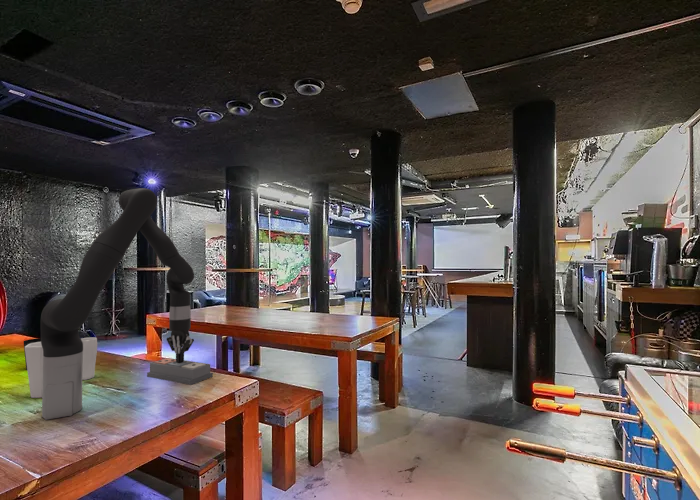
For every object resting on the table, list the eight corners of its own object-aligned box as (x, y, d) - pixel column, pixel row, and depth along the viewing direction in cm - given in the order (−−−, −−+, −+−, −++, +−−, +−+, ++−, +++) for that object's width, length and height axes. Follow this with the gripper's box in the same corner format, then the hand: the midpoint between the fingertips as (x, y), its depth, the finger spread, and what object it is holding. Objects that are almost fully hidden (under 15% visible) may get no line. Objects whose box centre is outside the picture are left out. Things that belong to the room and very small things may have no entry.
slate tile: (191, 370, 139) (191, 360, 139) (178, 374, 134) (178, 364, 134) (180, 368, 142) (181, 359, 142) (167, 372, 136) (167, 363, 136)
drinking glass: (101, 375, 140) (101, 337, 140) (86, 381, 133) (87, 341, 134) (85, 375, 140) (85, 337, 141) (70, 381, 134) (70, 340, 134)
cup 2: (58, 386, 128) (59, 338, 128) (71, 391, 122) (72, 341, 123) (17, 396, 118) (19, 344, 119) (29, 402, 113) (31, 348, 113)
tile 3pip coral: (178, 368, 142) (178, 359, 142) (164, 372, 137) (164, 363, 137) (167, 366, 145) (167, 357, 145) (154, 371, 139) (154, 361, 140)
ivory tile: (205, 373, 136) (205, 363, 136) (192, 377, 130) (192, 367, 130) (194, 371, 138) (194, 361, 138) (181, 375, 133) (181, 365, 133)
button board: (212, 376, 137) (212, 363, 137) (191, 384, 128) (191, 370, 128) (169, 369, 147) (169, 357, 147) (147, 376, 138) (147, 363, 138)
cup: (27, 367, 153) (27, 339, 154) (49, 364, 156) (50, 337, 157) (19, 371, 146) (20, 342, 147) (43, 369, 149) (43, 340, 150)
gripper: (200, 317, 139) (200, 361, 138) (176, 315, 145) (176, 358, 144) (183, 320, 132) (183, 367, 132) (159, 318, 138) (159, 363, 137)
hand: (179, 362), depth 138 cm, fingers closed
